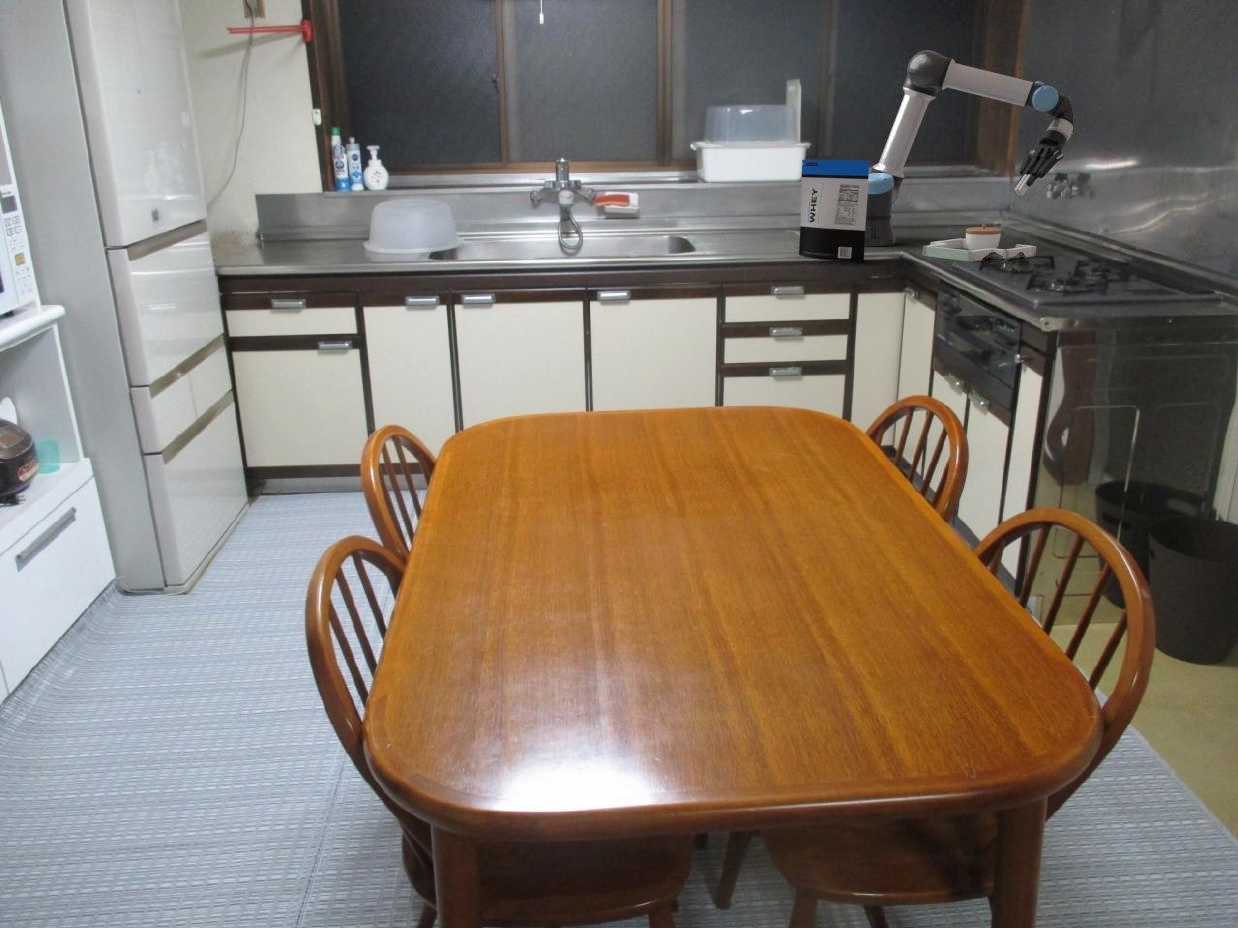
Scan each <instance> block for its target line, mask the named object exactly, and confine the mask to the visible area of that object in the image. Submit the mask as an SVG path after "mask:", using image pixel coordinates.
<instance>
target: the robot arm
mask: <svg viewBox="0 0 1238 928" xmlns="http://www.w3.org/2000/svg"><path fill="white" fill-rule="evenodd" d="M906 73H907V75H906V78H905V81H904V83H903V86H902V90H903V92H904V95H903V99H902V101H901V104H900V106H899V109H898V111H897V115H896V117H895V120H894V121H893V125H892V127H891V130H890V133H889V135H888V138H887V141H886V143H885V146H884V148H883V151H882V153H881V156H880V158H879V162H878V163H876V164H873V166H872V167H871V170H870V172H869V177H868V195H867V210H866V224H865V245H864V247H887V246H893V245H896V244H895V243H896V236H895V234H894V227H893V224H892V212H893V205H894V204H895V202H896V201H897V200H898V198H899V195H900V189H901V187H902V183H903V181H904V179H905V174H904V171H903V170H904V167H905V164H906V162H907V160H908V159H907V158H908V156H909V154H910V152H911V149H912V146H913V144H914V142H915V138H916V136H917V133H918V132H919V131H918V130H919V128H920V127H921V123H922V120H923V119H924V115H925V114H926V113H925V112H926V110H927V109H928V106H929V104H930V102H931V101H932V100H934V99H936V97H937V96H938V92H939V90H943V91H944V90H945V89H947V88H949V89H953V90H956V91H959V92H960V91H961V92H965V93H967V94H974V95H977V96H979V97H980V96H981V97H985V98H989V99H993V100H997V101H1001V102H1005V103H1009V104H1013V105H1016V106H1021V107H1025V108H1028V109H1032V110H1036V111H1039V112H1042V113H1043V114H1045V115H1047V116H1049V118H1052V119H1053V120H1052V122H1051V123H1050V125H1049V126H1048V127H1047V130H1046V131H1045V132H1044V133H1043V135H1042V137H1040V139H1039V143H1038V145H1037V146H1036V147H1035V148H1034V150H1029V149H1028V150H1026V151H1025V157H1024V158H1023V162H1022V164H1021V166H1020V168H1019V171H1018V173H1019V175H1020V176H1021V177H1020V179H1019V180H1018V181H1017V185H1016V187H1015V188H1014V192H1015V193H1016V195H1017V196H1020V197H1021V196H1022V197H1023V196H1024V195H1025V193H1026V192H1027V191H1028V189H1029V188H1030V187H1031V186H1033V184H1034V182H1035V181H1036V180H1037V179H1043V178H1044V177H1045V176H1046V175H1047V174H1048V173H1049V172H1050V170H1052V169H1053V167H1055V165H1056V164H1057V163H1058V162H1059V161H1061V160H1062V159H1064V155H1063V152H1062V150H1063V148H1064V147H1065V145H1066V144H1067V142H1068V141H1069V140H1070V138H1071V137H1072V135H1073V133H1072V131H1073V113H1072V108H1071V104H1070V100H1069V98H1068V97H1069V96H1067V97H1066V95H1064V94H1063V93H1061V92H1059V91H1058V90H1057V89H1056V88H1055V87H1053V86H1051V85H1048V84H1046V83H1045V82H1042V81H1040V80H1037V81H1035V82H1033V81H1029V80H1024V79H1021V78H1018V77H1013V76H1008V75H1005V74H1001V73H998V72H997V73H996V72H992V71H988V70H985V69H980V68H976V67H972V66H969V65H964V64H961V63H956V61H955V59H954V58H950V57H947V56H944V55H942V54H941V53H938V52H936V51H934V50H930V49H926V50H925V49H924V50H922V51H919V52H917V53H916V54H914V55H913V56H912V57H911V59H909V62H908V65H907V71H906ZM1062 102H1063V103H1062ZM1071 134H1072V135H1071Z"/></svg>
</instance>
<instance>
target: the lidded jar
mask: <svg viewBox="0 0 1238 928" xmlns="http://www.w3.org/2000/svg"><path fill="white" fill-rule="evenodd" d="M1001 235H1002V229H1001V228H997V227H987V224H986V223H982V226H981V227H968V228H966V229H965V239H966V245H967V248H968V249H969V250H968V251H974V250H981V249H989V248H994V249H998V247H999V244H1000V241H1001V237H1002V236H1001Z"/></svg>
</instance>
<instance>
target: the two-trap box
mask: <svg viewBox="0 0 1238 928" xmlns="http://www.w3.org/2000/svg"><path fill="white" fill-rule="evenodd" d="M991 252H996V253H997V254H999V255H1001V256H1003V258H1005V259H1006V258H1009V257H1013V256H1016V255H1017V254H1018V253H1019V252H1023V253H1024V255H1025V256H1026V257H1025V258H1031V257H1036V254H1037V246H1036V245H1030V244H1029V245H1028V244H1020V243H1019V244H1015V247H1014V248H1006V249H1002V248H996V249H994V248H989V249H981V250H974V251H969V249H968V248H967V245H966V238H961V237H960V238H953V239H947V240H938V241H937V240H936V241H931V242H930V244H929V245H922V254H921V256H923V257H929V258H930V257H931V258H937V259H945V260H946V259H947V260H954V261H962V262H971V263H972V262H979V261H983V260H982V259H983V258H984V257H985V256H986V255H988V254H989V253H991Z"/></svg>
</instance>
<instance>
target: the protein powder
mask: <svg viewBox="0 0 1238 928" xmlns="http://www.w3.org/2000/svg"><path fill="white" fill-rule="evenodd" d="M801 163H802V165H801V185H800V186H801V187H800V189H801V191H800V225H799V227H800V228H799V248H798V255H799V256H803V257H804V258H805V257H806V258H810V259H817V260H824V261H825V260H826V261H827V260H828V261H848V262H849V261H852V262H853V261H857V262H858V261H861V262H862V261H863V262H864V260H865V246H864V245H865V224H866V210H867V195H868V177H869V174H870V166H869V164H870V160H850V159H849V160H847V159H845V160H844V159H843V160H841V159H840V160H839V159H836V160H835V159H802V160H801Z"/></svg>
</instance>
